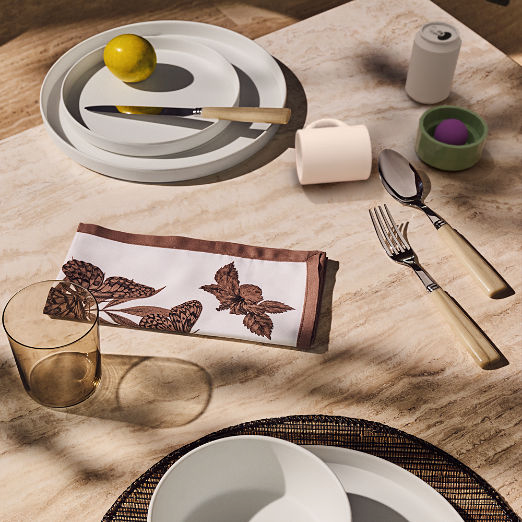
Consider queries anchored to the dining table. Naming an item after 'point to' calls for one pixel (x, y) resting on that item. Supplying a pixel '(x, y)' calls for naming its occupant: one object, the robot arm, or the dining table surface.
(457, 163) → the bowl
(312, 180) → the mug
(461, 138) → the ball
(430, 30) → the can
